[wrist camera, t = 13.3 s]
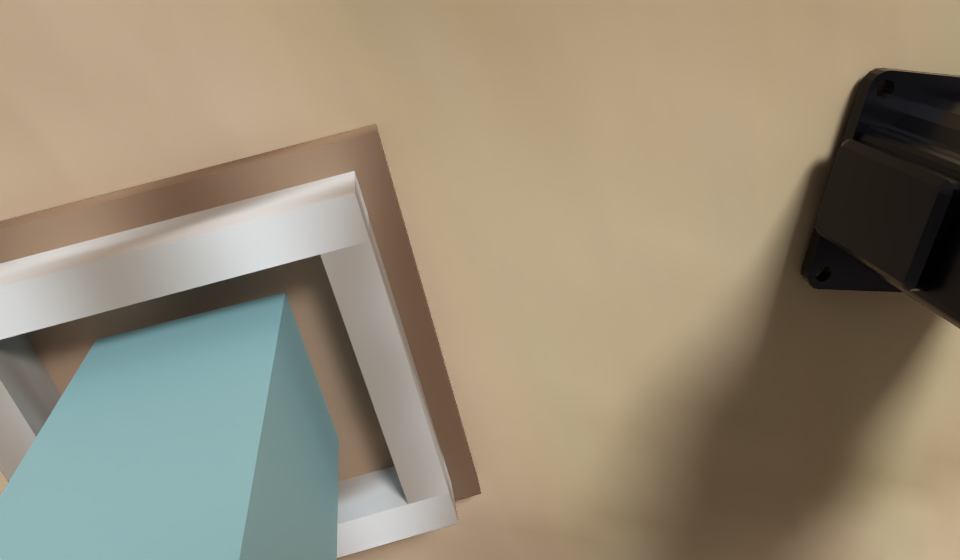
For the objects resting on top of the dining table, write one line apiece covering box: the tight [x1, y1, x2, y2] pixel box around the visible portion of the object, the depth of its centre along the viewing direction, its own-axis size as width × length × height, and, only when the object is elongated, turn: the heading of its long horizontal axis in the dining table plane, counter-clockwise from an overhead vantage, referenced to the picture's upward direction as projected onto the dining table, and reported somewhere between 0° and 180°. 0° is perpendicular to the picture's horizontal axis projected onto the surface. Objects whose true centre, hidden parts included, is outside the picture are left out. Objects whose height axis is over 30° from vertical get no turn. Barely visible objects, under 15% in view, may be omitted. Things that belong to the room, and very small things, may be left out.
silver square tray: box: [0, 124, 481, 558], centre depth 20 cm, size 12×12×3 cm
